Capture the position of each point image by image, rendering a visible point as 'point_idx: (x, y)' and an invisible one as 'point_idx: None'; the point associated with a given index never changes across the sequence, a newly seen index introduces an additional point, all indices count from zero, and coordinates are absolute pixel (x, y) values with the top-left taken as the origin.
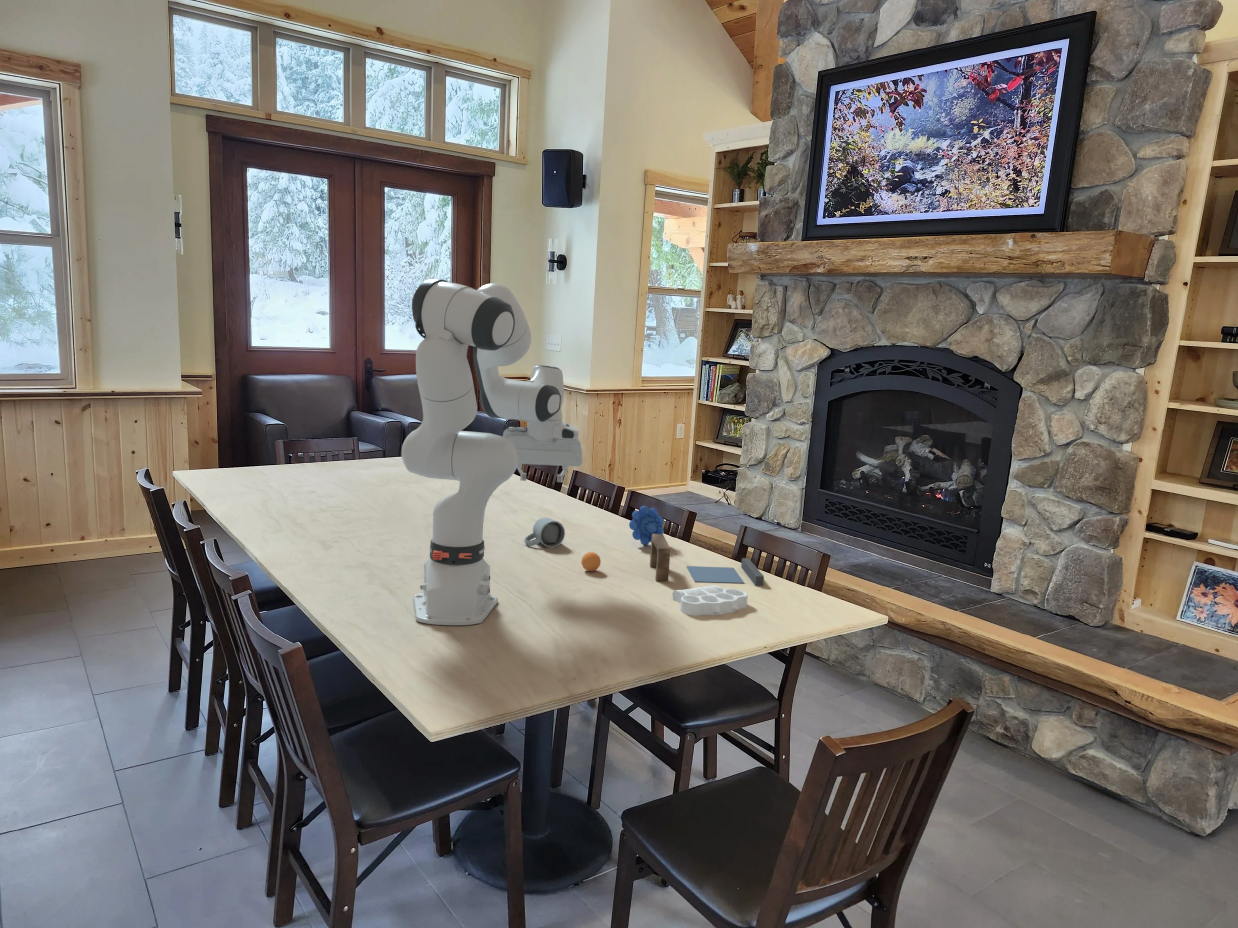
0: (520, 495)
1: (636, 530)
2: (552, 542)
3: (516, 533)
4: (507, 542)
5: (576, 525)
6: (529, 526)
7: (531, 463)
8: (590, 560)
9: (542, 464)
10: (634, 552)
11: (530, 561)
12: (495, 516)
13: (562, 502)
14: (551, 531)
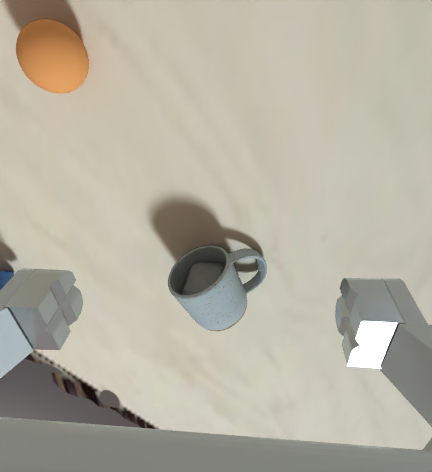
0: None
1: None
2: (200, 262)
3: (279, 320)
4: (304, 271)
5: (165, 359)
6: (251, 353)
7: (351, 457)
8: (40, 24)
9: (158, 432)
10: (12, 227)
11: (255, 130)
12: (310, 390)
13: None
14: (200, 279)
